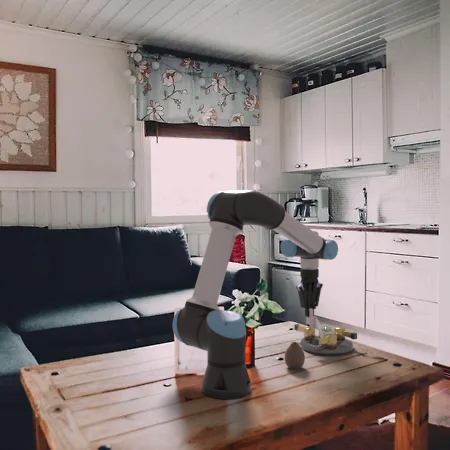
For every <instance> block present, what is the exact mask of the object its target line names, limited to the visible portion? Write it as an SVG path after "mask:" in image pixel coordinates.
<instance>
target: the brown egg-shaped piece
mask: <svg viewBox="0 0 450 450" xmlns="http://www.w3.org/2000/svg"><path fill="white" fill-rule="evenodd" d="M305 359H306V356H305V352H304V350H303V349H302V348H301V345H299V342H298V341H292V342H290V344H289V346H288V347H287V348H286V350H285V353H284V362H285V364H286V367H287V368H288V369H290V370H295V371H296V370H298V371H299V370H300V369H301V368H302V367H303V366H304V364H305Z"/></svg>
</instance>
